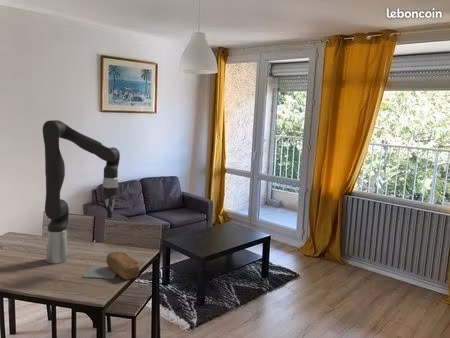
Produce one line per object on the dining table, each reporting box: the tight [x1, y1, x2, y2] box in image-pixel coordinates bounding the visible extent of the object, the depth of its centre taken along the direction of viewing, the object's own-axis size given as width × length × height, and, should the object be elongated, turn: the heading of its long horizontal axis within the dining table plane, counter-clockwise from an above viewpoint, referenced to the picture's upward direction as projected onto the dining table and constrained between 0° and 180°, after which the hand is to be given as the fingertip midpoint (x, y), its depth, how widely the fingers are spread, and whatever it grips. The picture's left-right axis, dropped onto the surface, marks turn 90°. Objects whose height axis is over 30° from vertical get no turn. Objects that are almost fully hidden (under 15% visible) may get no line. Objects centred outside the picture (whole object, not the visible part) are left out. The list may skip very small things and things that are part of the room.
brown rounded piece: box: [106, 251, 141, 281], centre depth 193 cm, size 11×8×20 cm
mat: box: [82, 265, 117, 280], centre depth 191 cm, size 15×13×1 cm
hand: (109, 217), depth 198 cm, fingers closed
